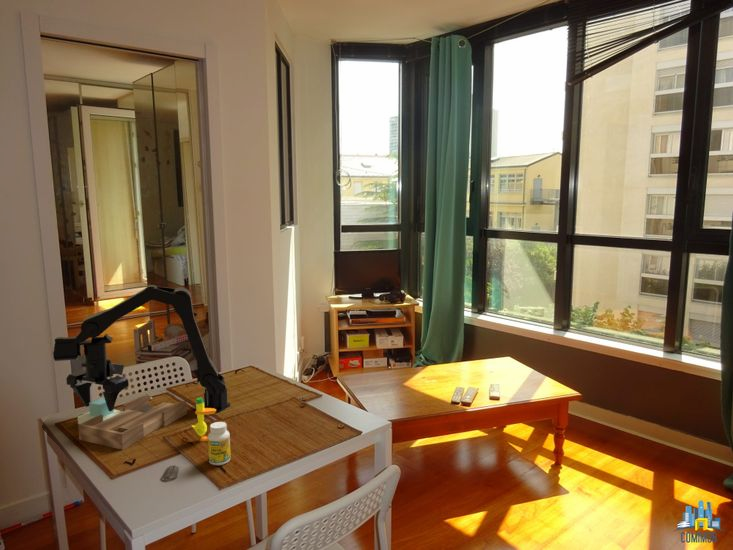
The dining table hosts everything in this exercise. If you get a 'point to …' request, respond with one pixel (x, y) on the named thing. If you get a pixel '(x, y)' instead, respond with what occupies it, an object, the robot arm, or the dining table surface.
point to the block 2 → (170, 473)
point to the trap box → (130, 423)
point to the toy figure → (202, 418)
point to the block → (99, 408)
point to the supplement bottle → (219, 444)
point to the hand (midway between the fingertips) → (99, 408)
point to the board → (87, 416)
